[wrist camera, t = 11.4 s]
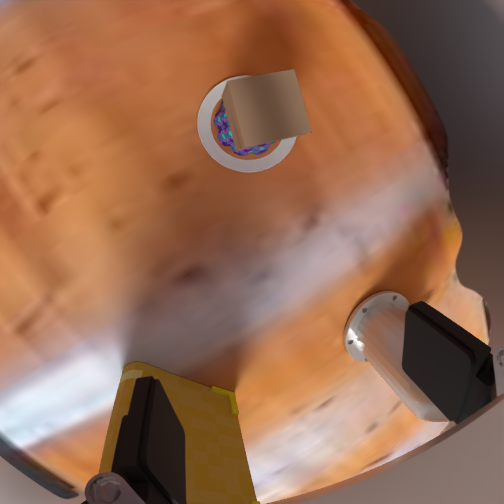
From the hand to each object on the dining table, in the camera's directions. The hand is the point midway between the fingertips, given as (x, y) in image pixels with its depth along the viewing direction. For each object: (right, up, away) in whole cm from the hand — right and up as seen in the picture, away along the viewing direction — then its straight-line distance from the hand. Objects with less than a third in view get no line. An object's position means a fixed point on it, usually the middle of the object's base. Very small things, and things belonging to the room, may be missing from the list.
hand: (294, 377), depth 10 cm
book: (-13, -16, +32) cm, 39 cm away
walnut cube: (-1, +18, +19) cm, 27 cm away
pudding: (-2, +20, +25) cm, 32 cm away
